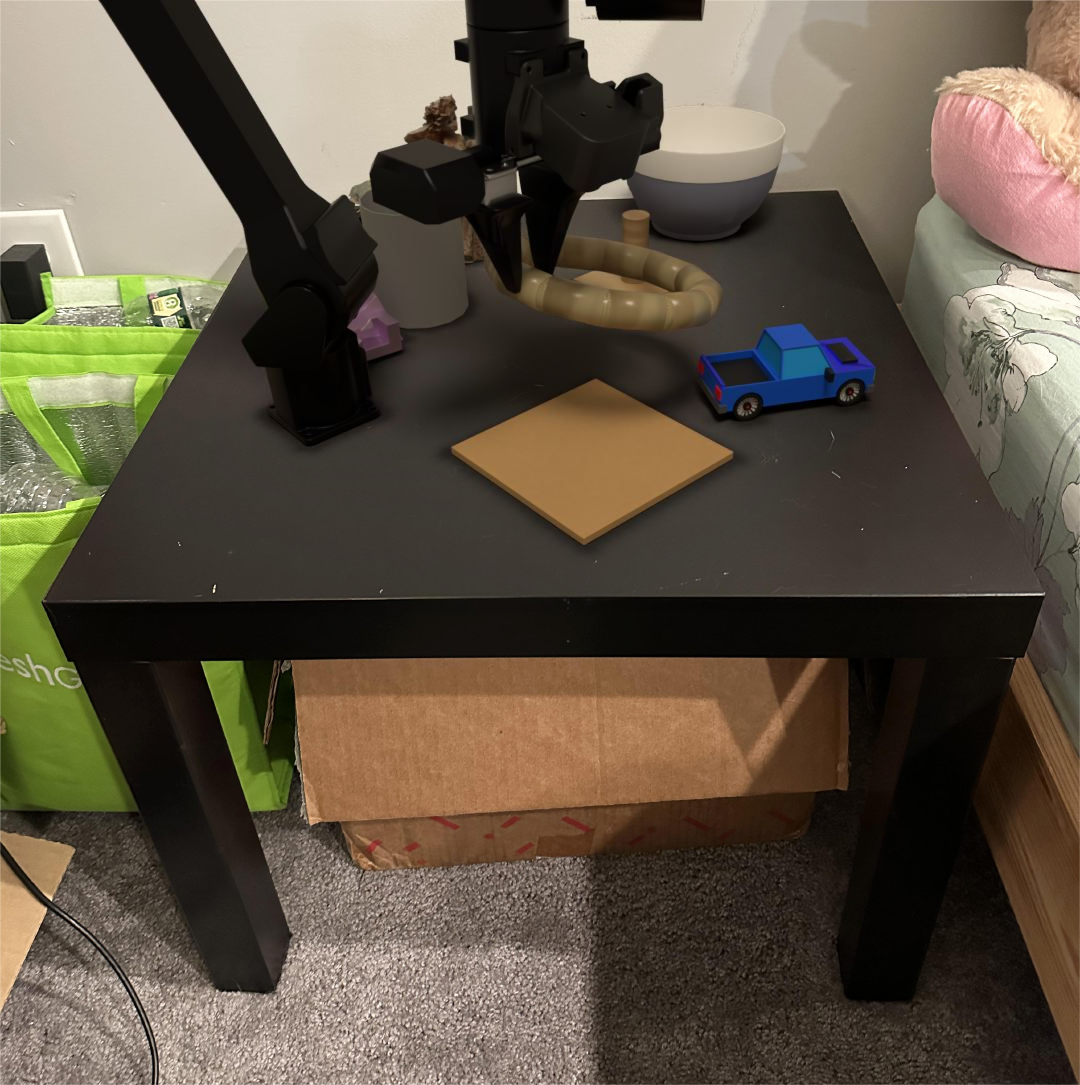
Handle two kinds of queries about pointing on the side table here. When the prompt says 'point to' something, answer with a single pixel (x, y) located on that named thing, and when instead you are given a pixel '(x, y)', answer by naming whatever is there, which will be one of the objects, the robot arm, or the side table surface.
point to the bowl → (708, 170)
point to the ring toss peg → (632, 234)
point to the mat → (591, 458)
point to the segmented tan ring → (617, 308)
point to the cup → (416, 266)
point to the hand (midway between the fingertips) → (528, 285)
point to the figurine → (442, 131)
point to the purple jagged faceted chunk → (376, 329)
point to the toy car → (785, 372)
